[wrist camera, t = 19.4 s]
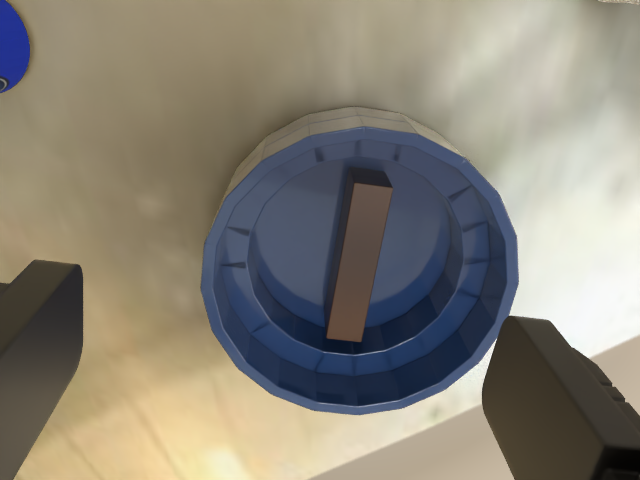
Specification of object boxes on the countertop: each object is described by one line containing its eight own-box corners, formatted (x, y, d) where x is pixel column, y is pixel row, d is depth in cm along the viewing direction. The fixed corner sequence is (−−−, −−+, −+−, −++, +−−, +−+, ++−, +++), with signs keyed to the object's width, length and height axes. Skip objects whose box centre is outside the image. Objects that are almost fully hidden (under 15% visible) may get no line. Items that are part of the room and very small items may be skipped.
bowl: (208, 337, 35) (191, 398, 30) (231, 85, 30) (215, 104, 24) (447, 364, 37) (474, 427, 31) (513, 127, 31) (559, 154, 26)
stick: (356, 315, 34) (361, 342, 32) (323, 311, 34) (325, 338, 32) (385, 171, 31) (393, 187, 28) (349, 166, 31) (353, 182, 28)
